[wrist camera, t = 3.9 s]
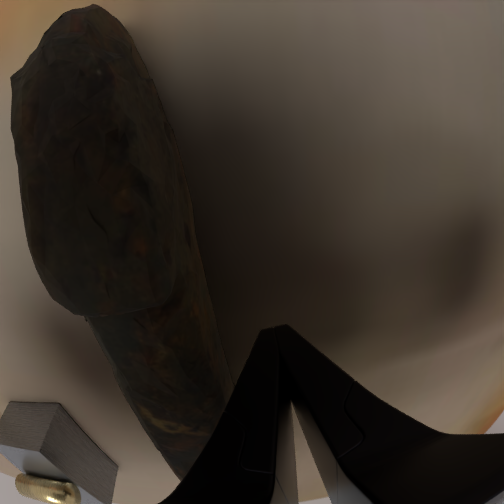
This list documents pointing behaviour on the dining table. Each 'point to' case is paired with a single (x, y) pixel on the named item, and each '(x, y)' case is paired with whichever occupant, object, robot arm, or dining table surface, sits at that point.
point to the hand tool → (119, 225)
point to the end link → (54, 456)
